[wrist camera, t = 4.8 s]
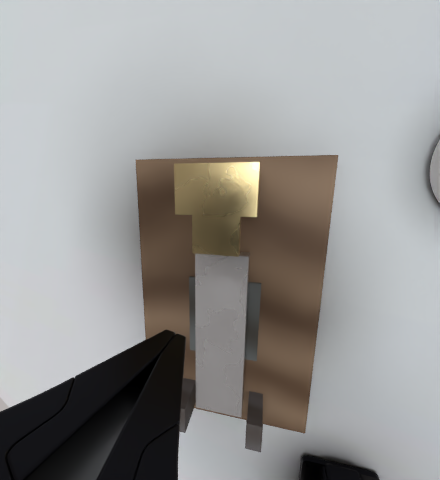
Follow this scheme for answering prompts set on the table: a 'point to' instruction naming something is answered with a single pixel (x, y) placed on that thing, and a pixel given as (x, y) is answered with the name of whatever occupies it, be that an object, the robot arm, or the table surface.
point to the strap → (221, 331)
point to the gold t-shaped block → (217, 202)
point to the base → (259, 285)
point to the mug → (435, 172)
